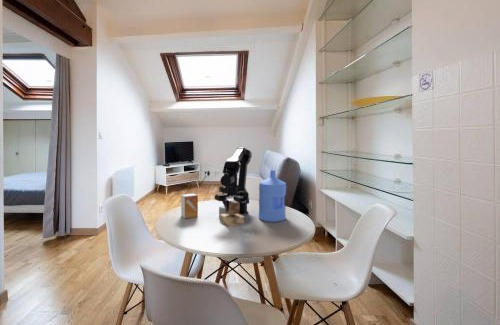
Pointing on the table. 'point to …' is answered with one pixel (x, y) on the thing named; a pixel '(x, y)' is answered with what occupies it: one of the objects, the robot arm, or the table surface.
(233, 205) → the walnut cube
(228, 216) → the oak slab
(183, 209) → the small box
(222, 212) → the slate cube
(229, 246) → the table surface
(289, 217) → the table surface
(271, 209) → the water jug
